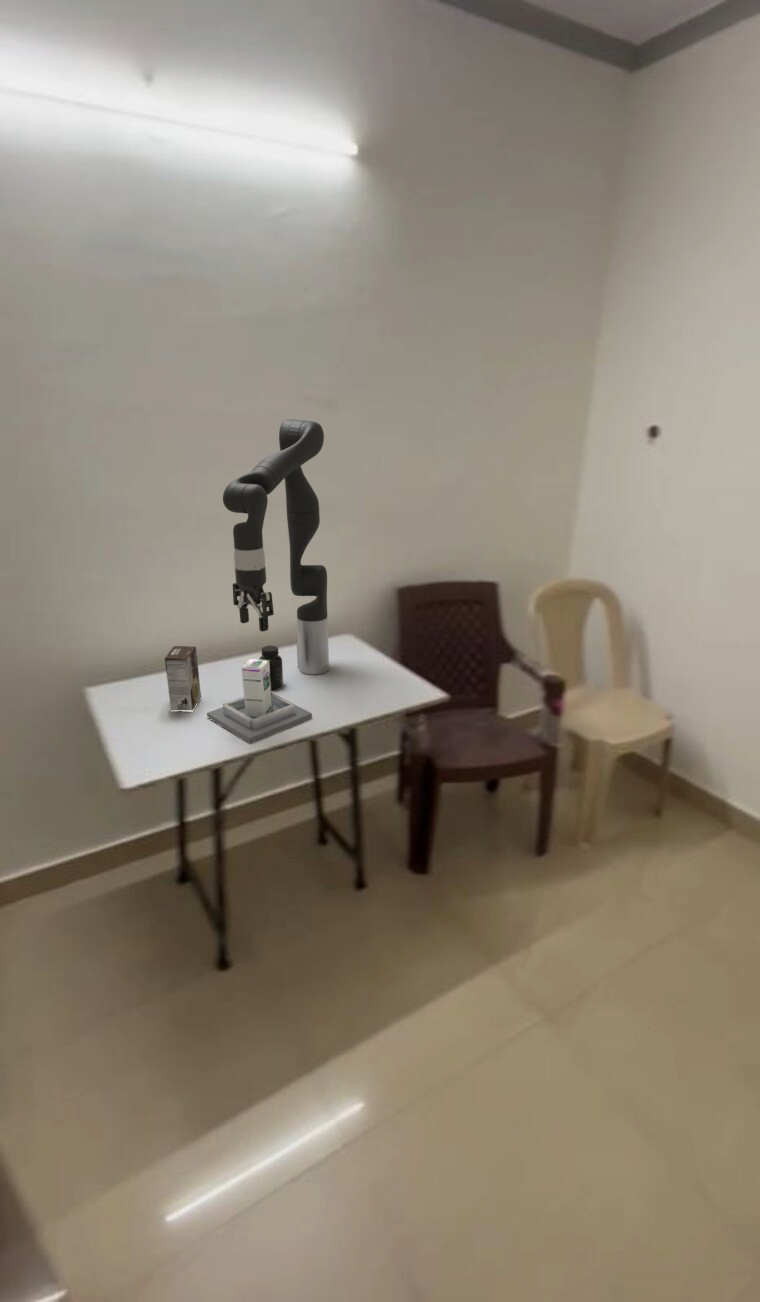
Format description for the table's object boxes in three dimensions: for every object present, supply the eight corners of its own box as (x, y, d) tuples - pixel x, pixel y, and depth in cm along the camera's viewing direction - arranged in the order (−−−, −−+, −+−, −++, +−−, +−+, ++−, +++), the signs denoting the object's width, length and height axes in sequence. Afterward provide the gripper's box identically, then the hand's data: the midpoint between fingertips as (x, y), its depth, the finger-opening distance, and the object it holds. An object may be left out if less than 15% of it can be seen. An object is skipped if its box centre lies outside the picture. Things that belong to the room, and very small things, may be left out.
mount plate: (207, 717, 196) (206, 712, 196) (268, 695, 209) (267, 691, 208) (250, 743, 183) (249, 738, 182) (312, 718, 196) (311, 713, 195)
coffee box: (179, 698, 208) (173, 645, 202) (202, 698, 208) (196, 645, 202) (170, 712, 199) (163, 657, 193) (193, 712, 199) (187, 658, 193)
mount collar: (221, 712, 195) (220, 704, 195) (265, 696, 205) (265, 688, 204) (252, 730, 186) (251, 722, 185) (297, 713, 195) (296, 704, 194)
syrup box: (265, 718, 192) (262, 667, 187) (244, 716, 193) (240, 666, 188) (273, 709, 197) (270, 659, 192) (252, 707, 199) (249, 658, 193)
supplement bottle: (256, 688, 214) (253, 650, 209) (267, 679, 220) (264, 642, 215) (276, 692, 211) (274, 653, 207) (287, 683, 217) (285, 645, 213)
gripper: (221, 562, 183) (226, 623, 189) (254, 573, 173) (258, 637, 179) (246, 557, 188) (250, 616, 194) (279, 567, 178) (282, 629, 184)
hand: (254, 626), depth 187 cm, fingers open, 8 cm apart
